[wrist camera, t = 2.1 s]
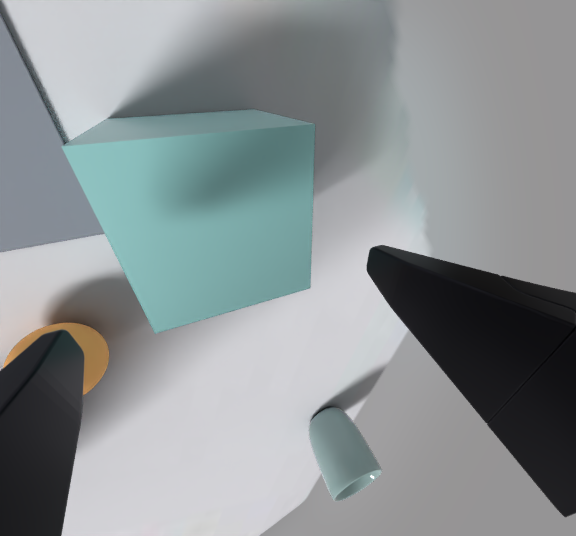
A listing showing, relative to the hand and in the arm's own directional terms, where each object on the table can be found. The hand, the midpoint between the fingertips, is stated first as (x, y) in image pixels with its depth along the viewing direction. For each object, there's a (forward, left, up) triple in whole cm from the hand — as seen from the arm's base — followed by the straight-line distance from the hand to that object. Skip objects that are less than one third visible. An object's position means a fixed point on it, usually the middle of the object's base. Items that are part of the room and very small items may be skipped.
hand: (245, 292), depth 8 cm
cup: (+11, -40, -11) cm, 43 cm away
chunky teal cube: (0, 0, -11) cm, 11 cm away
